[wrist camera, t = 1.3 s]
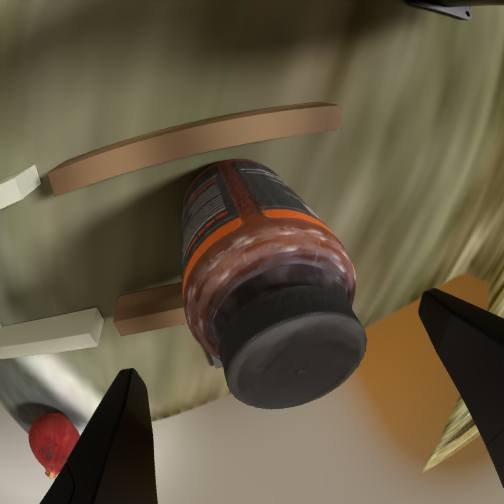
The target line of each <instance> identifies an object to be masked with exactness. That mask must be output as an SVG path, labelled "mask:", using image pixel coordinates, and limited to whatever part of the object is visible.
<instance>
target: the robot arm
mask: <svg viewBox="0 0 504 504" xmlns="http://www.w3.org/2000/svg"><path fill="white" fill-rule="evenodd" d="M405 1H406V2H407V3H408V4H411V5H415V6H419V7H423V8H427V9H431V10H434V11H438V12H441V13H445V14H448V15H451V16H454V17H457V18H460V19H463V20H471V19H472V13H471V8H470V6H484V5H504V0H405ZM418 312H419V317H420V319H421V321H422V323H423V325H424V327H425V329H426V331H427V333H428V335H429V337H430V340H431V342H432V344H433V346H434V348H435V350H436V352H437V354H438V356H439V358H440V359H441V361H442V363H443V365H444V366H445V368H446V370H447V372H448V373H449V375H450V377H451V379H452V380H453V382H454V384H455V386H456V388H457V389H458V391H459V393H460V395H461V397H462V399H463V401H464V403H465V405H466V406H467V408H468V410H469V412H470V414H471V416H472V418H473V420H474V422H475V424H476V426H477V428H478V430H479V433H480V435H481V437H482V439H483V441H484V443H485V445H486V448H487V450H488V452H489V455H490V457H491V459H492V461H493V464H494V466H495V469H496V471H497V474H498V476H499V478H500V481H501V484H502V486H503V488H504V318H501V317H499V316H497V315H495V314H493V313H491V312H488V311H486V310H484V309H482V308H479V307H477V306H475V305H473V304H470V303H468V302H466V301H464V300H462V299H459V298H457V297H455V296H453V295H450V294H448V293H445V292H443V291H441V290H439V289H436V288H431V289H428V290H426V291H424V292H423V294H422V297H421V302H420V306H419V311H418ZM152 431H153V430H152V423H151V416H150V409H149V401H148V393H147V388H146V385H145V383H144V382H143V380H142V379H141V377H140V376H139V374H138V373H137V371H136V370H135V369H133V368H129V369H123V370H121V371H120V372H119V373H118V375H117V376H116V378H115V379H114V381H113V383H112V384H111V386H110V387H109V389H108V391H107V392H106V394H105V396H104V397H103V399H102V400H101V402H100V404H99V405H98V407H97V409H96V410H95V412H94V414H93V415H92V417H91V419H90V420H89V422H88V424H87V425H86V427H85V429H84V431H83V432H82V434H81V436H80V437H79V439H78V441H77V443H76V444H75V446H74V448H73V449H72V451H71V453H70V455H69V457H68V458H67V460H66V461H67V462H65V463H64V465H63V467H62V469H61V471H60V472H59V474H58V476H57V477H56V479H55V481H54V483H53V484H52V486H51V487H50V489H49V490H48V492H47V493H46V495H45V496H44V498H43V499H42V501H41V502H40V504H158V502H157V492H156V491H157V490H156V478H155V462H154V442H153V432H152Z"/></svg>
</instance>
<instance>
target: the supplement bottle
mask: <svg viewBox="0 0 504 504" xmlns="http://www.w3.org/2000/svg"><path fill="white" fill-rule="evenodd" d="M181 256H182V292H183V304H184V311H185V316H186V320H187V324H188V326H189V329H190V330H191V332H192V335H193V336H194V338H195V339H196V341H197V342H198V343H199V344H200V346H202V347H203V348H204V349H205V350H206V351H207V352H208V353H209V354H211V355H213V356H214V357H216V358H217V359H219V360H220V361H221V362H222V365H223V368H224V374H225V378H226V382H227V385H228V388H229V390H230V391H231V393H232V394H233V395H234V397H235V398H237V399H238V400H239V401H241V402H243V403H245V404H247V405H250V406H254V407H257V408H263V409H283V408H289V407H294V406H299V405H302V404H305V403H308V402H310V401H313V400H316V399H318V398H320V397H322V396H324V395H326V394H328V393H329V392H331V391H333V390H334V389H335V388H337V387H339V386H340V385H341V384H342V383H343V382H345V381H346V380H347V379H348V378H349V376H350V375H351V374H352V373H353V372H354V371H355V369H356V368H357V367H358V366H359V364H360V362H361V360H362V359H363V357H364V354H365V352H366V345H367V337H366V333H365V330H364V328H363V326H362V324H361V323H360V321H359V320H358V318H357V317H356V315H355V314H354V312H353V310H352V304H353V300H354V295H355V288H356V279H355V271H354V266H353V264H352V261H351V259H350V257H349V254H348V253H347V251H346V250H345V248H344V247H343V245H342V244H341V242H340V241H339V240H338V238H337V237H336V236H335V235H334V234H333V233H332V232H331V231H330V229H329V228H328V227H327V226H326V225H325V224H324V223H323V222H322V221H321V220H320V218H319V217H318V216H317V215H316V214H315V213H314V212H313V211H312V210H311V209H310V208H309V207H308V206H307V205H306V203H305V202H304V201H303V200H302V199H301V198H300V197H299V196H298V195H297V194H296V193H295V192H294V191H293V190H292V189H291V188H290V187H289V186H288V185H287V184H286V183H285V182H284V181H283V180H282V179H281V178H280V177H279V176H278V175H277V174H276V173H275V172H273V171H272V170H271V169H269V168H268V167H266V166H264V165H262V164H260V163H258V162H255V161H252V160H247V159H230V160H225V161H222V162H218V163H216V164H213V165H211V166H209V167H208V168H206V169H205V170H204V171H202V172H201V173H200V174H199V175H198V176H197V177H196V178H195V179H194V180H193V182H192V183H191V184H190V186H189V188H188V190H187V192H186V194H185V196H184V200H183V205H182V211H181Z"/></svg>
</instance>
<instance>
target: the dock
mask: <svg viewBox="0 0 504 504" xmlns="http://www.w3.org/2000/svg"><path fill="white" fill-rule="evenodd" d="M40 184H41V181H40V178H39V175H38V172H37V169H36V166H35V165H33V166H30V167H28V168H26V169H24V170H22V171H20V172H18V173H16V174H14V175H12V176H10V177H8V178H6V179H4V180H2V181H0V209H2V208H4V207H6V206H8V205H11V204H13V203H15V202H17V201H20V200H22V199H23V198H24V197H25V196H27V195H28V194H29V193H30V192H32V191H33V190H34V189H35V188H37V187H38V186H39V185H40ZM103 322H104V320H103V318H102V316H101V314H100V313H99V311H98V309H97V308H92V309H87V310H83V311H78V312H73V313H68V314H63V315H58V316H54V317H49V318H44V319H39V320H34V321H29V322H24V323H18V324H13V325H8V326H2V325H1V323H0V359H5V358H15V357H24V356H33V355H41V354H48V353H56V352H63V351H70V350H77V349H83V348H90V347H96V346H98V343H99V339H100V334H101V330H102V326H103Z"/></svg>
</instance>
